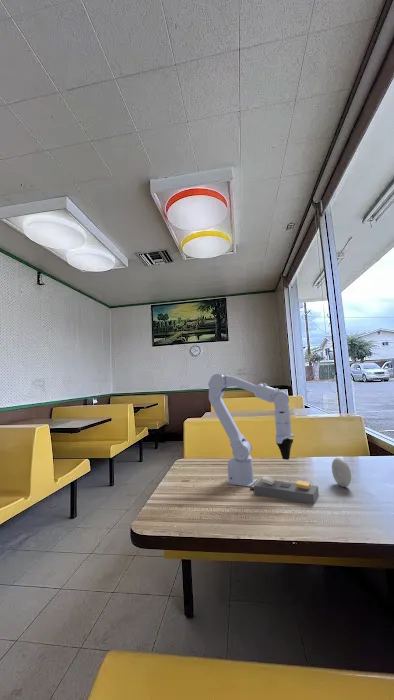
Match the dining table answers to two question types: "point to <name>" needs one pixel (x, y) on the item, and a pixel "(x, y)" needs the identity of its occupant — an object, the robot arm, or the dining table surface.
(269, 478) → the white plug
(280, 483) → the power strip
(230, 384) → the robot arm
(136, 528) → the dining table surface
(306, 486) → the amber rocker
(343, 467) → the grey round disc
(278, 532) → the dining table surface
